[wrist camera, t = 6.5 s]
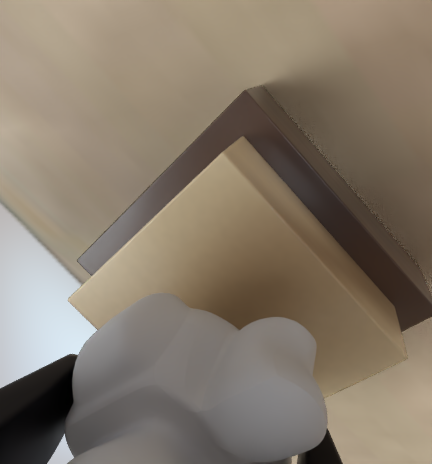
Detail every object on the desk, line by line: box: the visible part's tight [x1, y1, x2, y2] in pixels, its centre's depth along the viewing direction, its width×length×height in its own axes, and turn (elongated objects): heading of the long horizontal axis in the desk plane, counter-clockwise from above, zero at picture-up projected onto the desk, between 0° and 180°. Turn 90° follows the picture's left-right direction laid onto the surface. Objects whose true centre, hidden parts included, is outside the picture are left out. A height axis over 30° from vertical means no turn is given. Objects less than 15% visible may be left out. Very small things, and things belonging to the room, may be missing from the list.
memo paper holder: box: [68, 85, 432, 398], centre depth 14 cm, size 9×9×6 cm
